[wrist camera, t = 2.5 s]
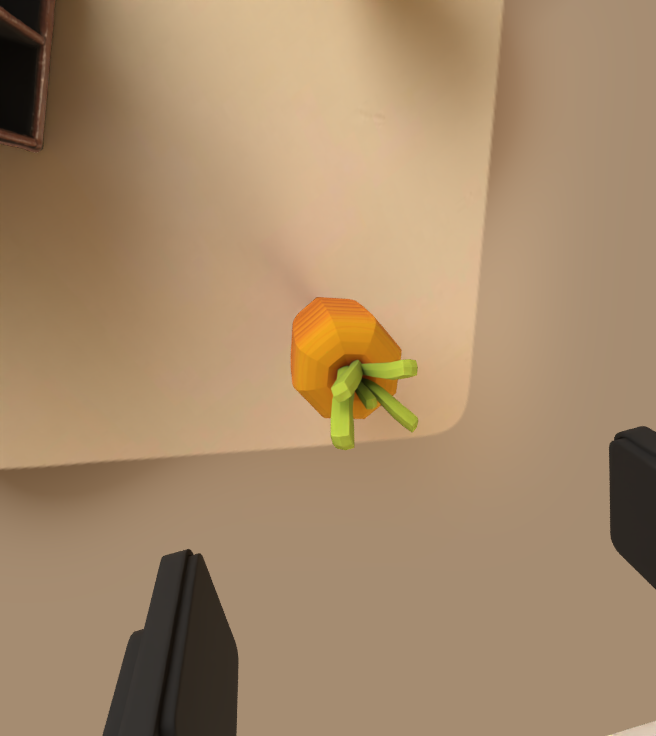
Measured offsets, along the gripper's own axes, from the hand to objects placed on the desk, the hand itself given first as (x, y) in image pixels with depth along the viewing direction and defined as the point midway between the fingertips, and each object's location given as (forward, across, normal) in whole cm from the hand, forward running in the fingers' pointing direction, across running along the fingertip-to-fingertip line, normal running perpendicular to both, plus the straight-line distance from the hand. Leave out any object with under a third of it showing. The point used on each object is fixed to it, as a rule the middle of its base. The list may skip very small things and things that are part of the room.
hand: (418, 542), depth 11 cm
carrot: (+22, -1, 0) cm, 22 cm away
